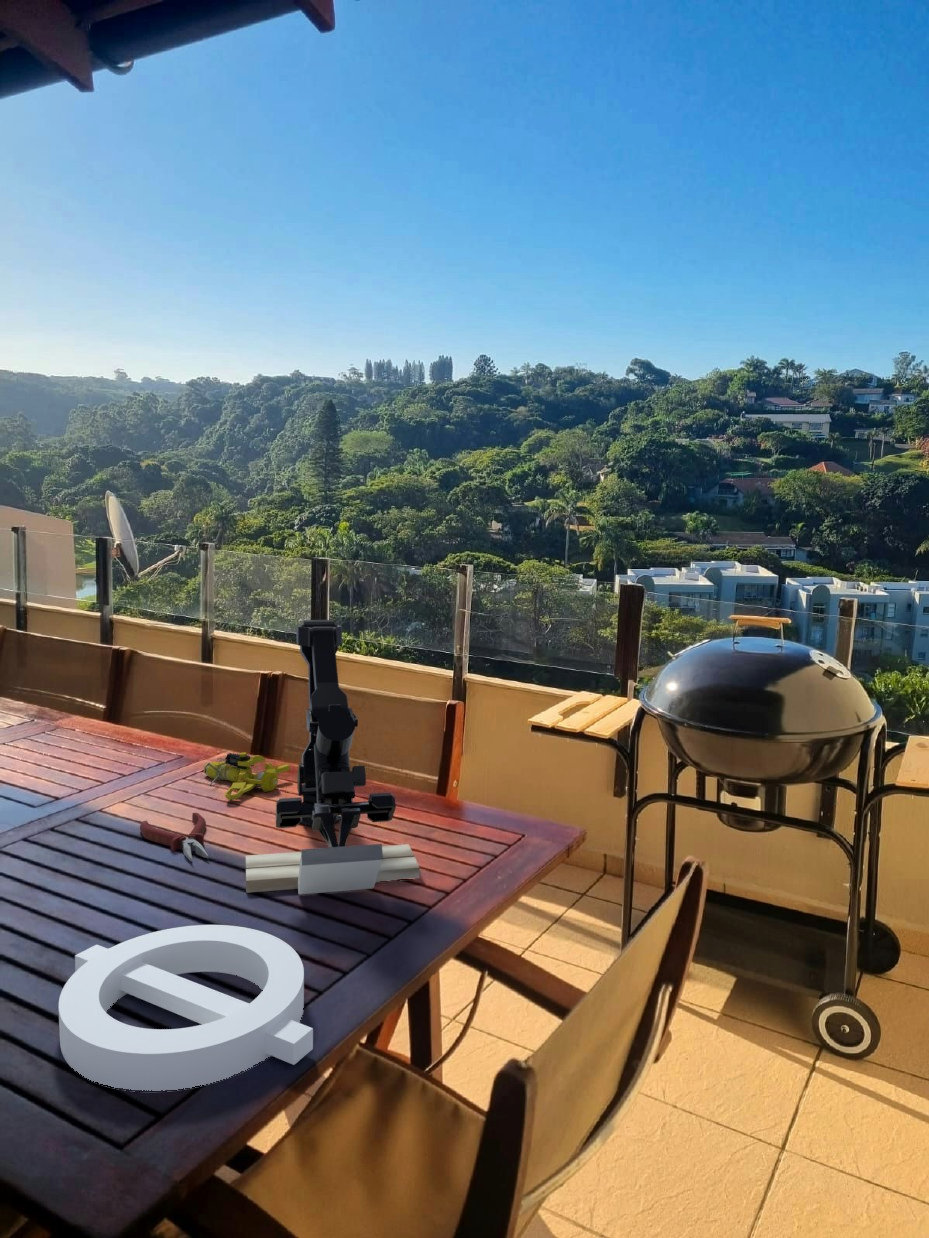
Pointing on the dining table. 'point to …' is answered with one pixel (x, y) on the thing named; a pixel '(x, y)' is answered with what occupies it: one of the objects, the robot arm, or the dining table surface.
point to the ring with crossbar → (183, 1008)
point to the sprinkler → (244, 773)
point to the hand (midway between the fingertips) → (339, 861)
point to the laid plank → (284, 867)
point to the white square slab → (339, 868)
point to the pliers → (179, 837)
